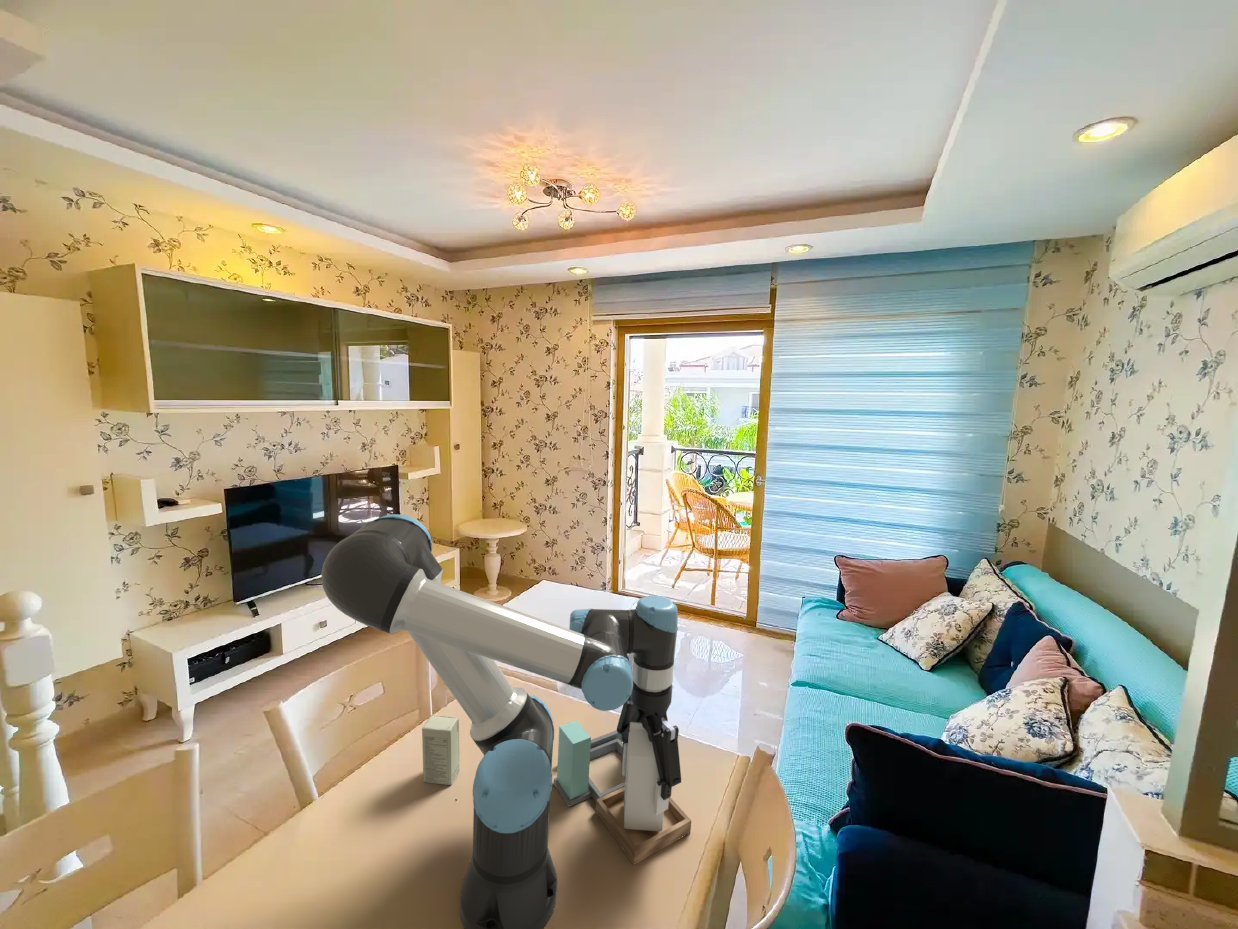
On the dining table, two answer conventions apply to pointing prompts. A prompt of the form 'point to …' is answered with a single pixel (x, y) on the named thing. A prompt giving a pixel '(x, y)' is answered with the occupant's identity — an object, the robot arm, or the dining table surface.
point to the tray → (641, 841)
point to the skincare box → (440, 750)
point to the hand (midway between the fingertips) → (644, 791)
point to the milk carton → (641, 782)
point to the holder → (581, 761)
